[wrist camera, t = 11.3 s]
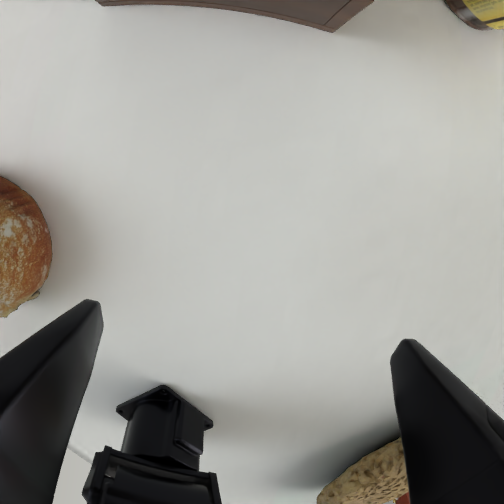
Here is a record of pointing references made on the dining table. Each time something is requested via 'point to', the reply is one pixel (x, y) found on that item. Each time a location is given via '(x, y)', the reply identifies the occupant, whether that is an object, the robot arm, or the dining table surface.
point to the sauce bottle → (479, 13)
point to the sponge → (370, 479)
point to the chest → (275, 9)
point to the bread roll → (21, 248)
